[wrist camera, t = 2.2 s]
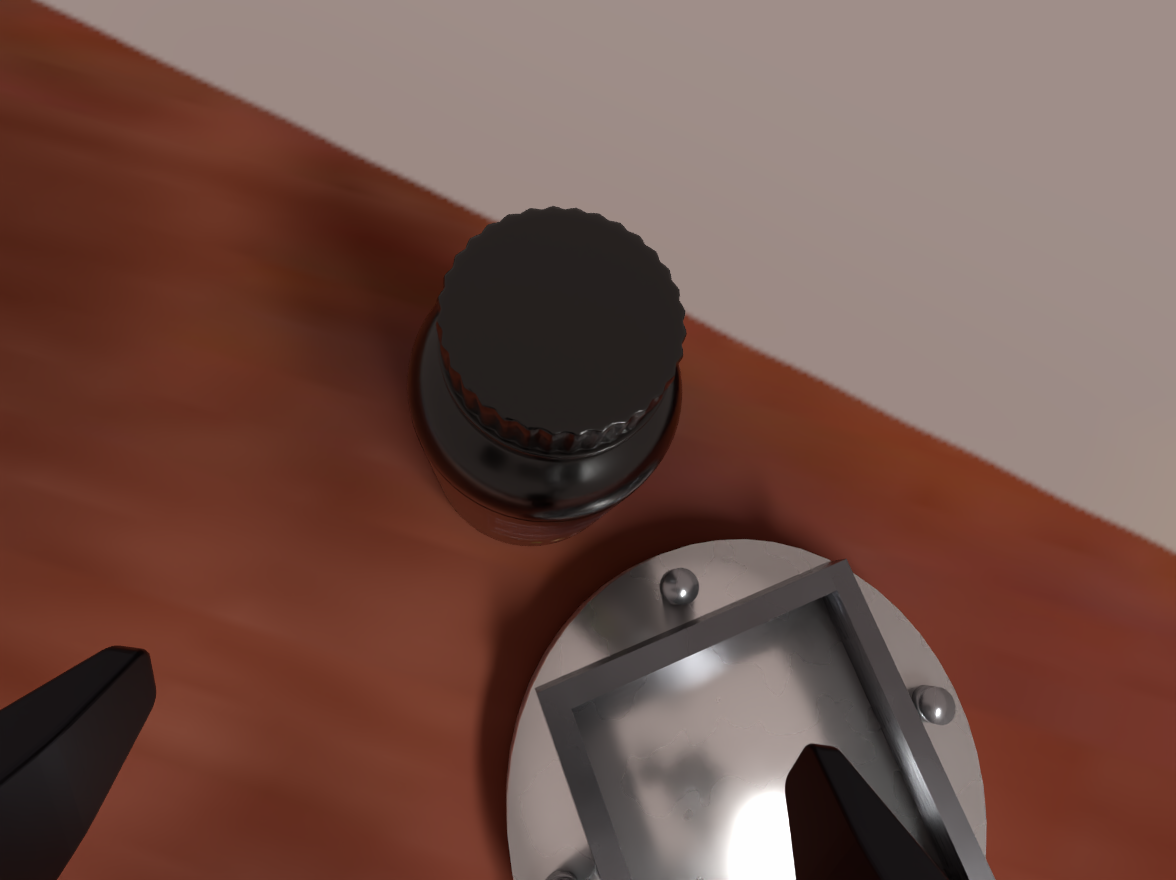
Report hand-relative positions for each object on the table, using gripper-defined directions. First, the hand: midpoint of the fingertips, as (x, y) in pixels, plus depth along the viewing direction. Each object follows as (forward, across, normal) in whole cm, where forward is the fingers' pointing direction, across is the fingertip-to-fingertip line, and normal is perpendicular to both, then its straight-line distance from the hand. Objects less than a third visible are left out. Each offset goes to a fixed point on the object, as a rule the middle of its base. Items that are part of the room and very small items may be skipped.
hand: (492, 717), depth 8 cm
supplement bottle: (+14, 0, +4) cm, 15 cm away
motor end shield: (+7, -9, +11) cm, 16 cm away
